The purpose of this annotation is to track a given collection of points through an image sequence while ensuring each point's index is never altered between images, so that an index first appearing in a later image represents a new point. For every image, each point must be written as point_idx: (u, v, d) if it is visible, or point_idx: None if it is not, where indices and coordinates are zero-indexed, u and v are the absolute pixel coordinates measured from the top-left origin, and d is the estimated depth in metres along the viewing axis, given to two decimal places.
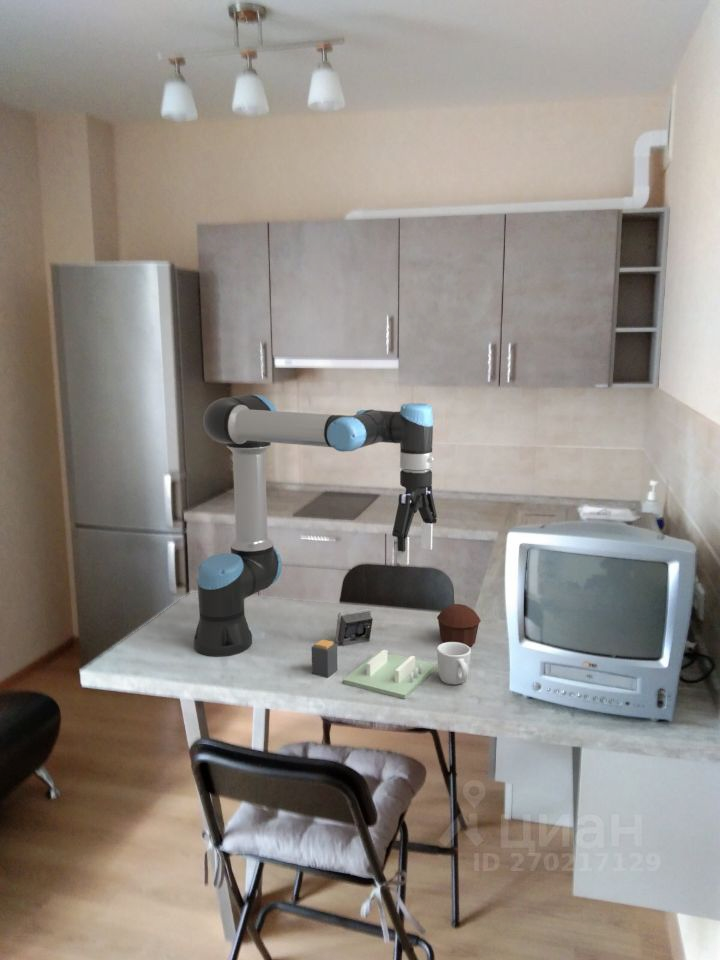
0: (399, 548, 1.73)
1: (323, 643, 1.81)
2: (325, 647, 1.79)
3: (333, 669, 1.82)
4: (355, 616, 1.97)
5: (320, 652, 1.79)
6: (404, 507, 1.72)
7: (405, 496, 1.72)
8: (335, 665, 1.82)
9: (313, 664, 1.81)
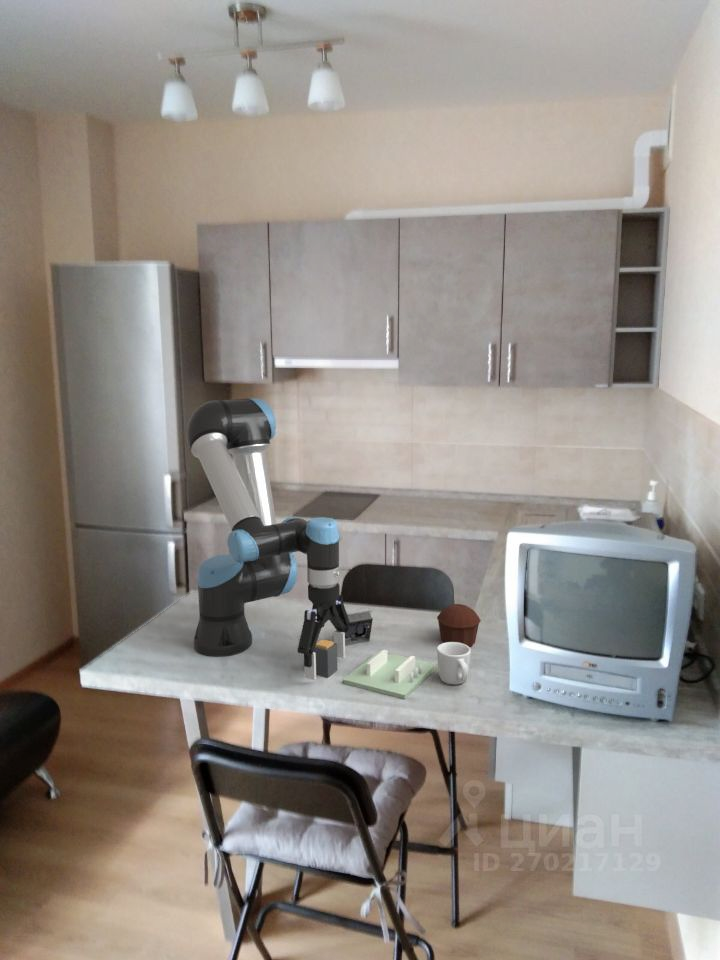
0: (305, 664, 1.74)
1: (323, 643, 1.81)
2: (325, 647, 1.79)
3: (333, 669, 1.82)
4: (355, 616, 1.97)
5: (320, 652, 1.79)
6: (309, 624, 1.73)
7: (310, 613, 1.73)
8: (335, 665, 1.82)
9: None
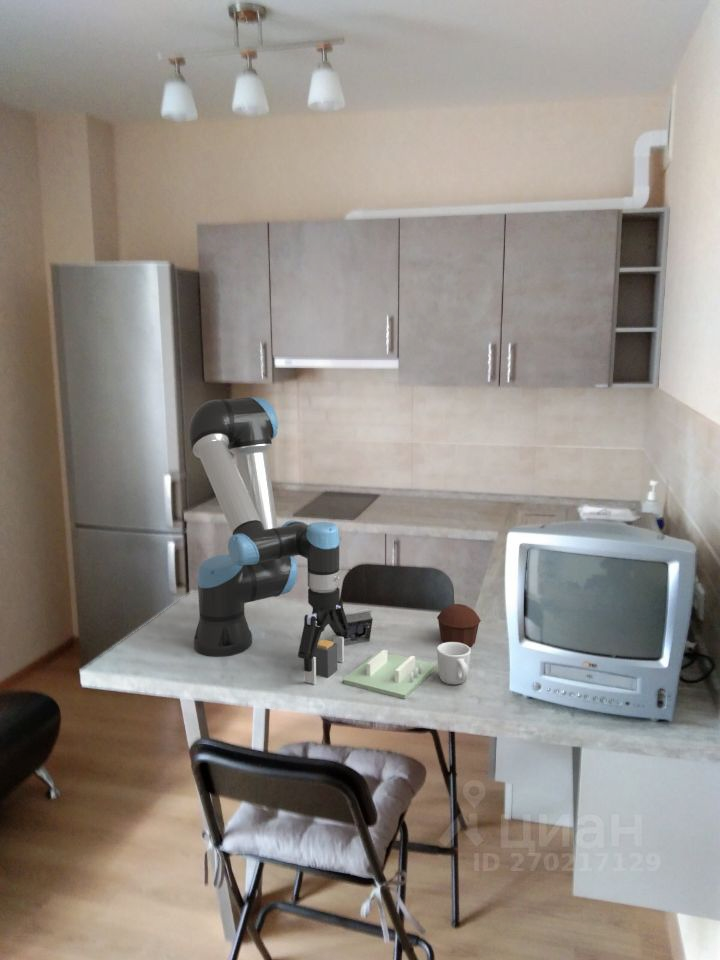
0: (305, 668, 1.75)
1: (323, 643, 1.81)
2: (325, 647, 1.79)
3: (333, 669, 1.82)
4: (355, 616, 1.97)
5: (320, 652, 1.79)
6: (309, 629, 1.73)
7: (310, 618, 1.73)
8: (335, 665, 1.82)
9: None
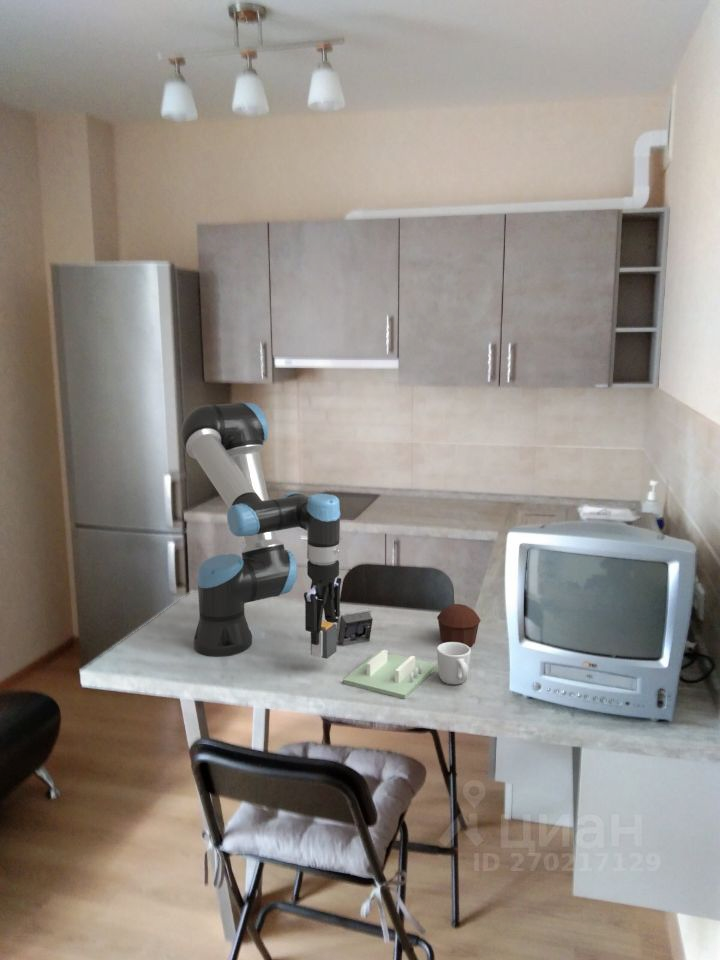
0: (313, 642, 1.78)
1: (322, 624, 1.80)
2: (324, 628, 1.78)
3: (332, 650, 1.81)
4: (355, 616, 1.97)
5: None
6: (311, 606, 1.74)
7: (309, 596, 1.73)
8: (334, 646, 1.82)
9: None
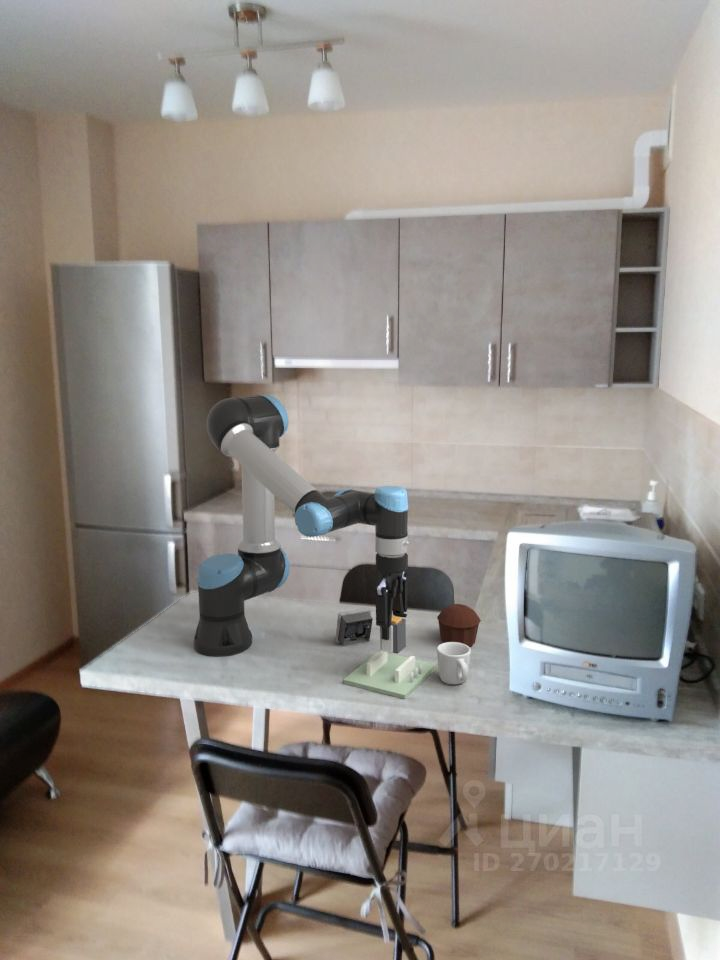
0: (383, 637, 1.75)
1: None
2: (394, 622, 1.75)
3: (402, 645, 1.78)
4: (355, 616, 1.97)
5: None
6: (382, 599, 1.71)
7: (380, 589, 1.70)
8: (404, 641, 1.79)
9: None
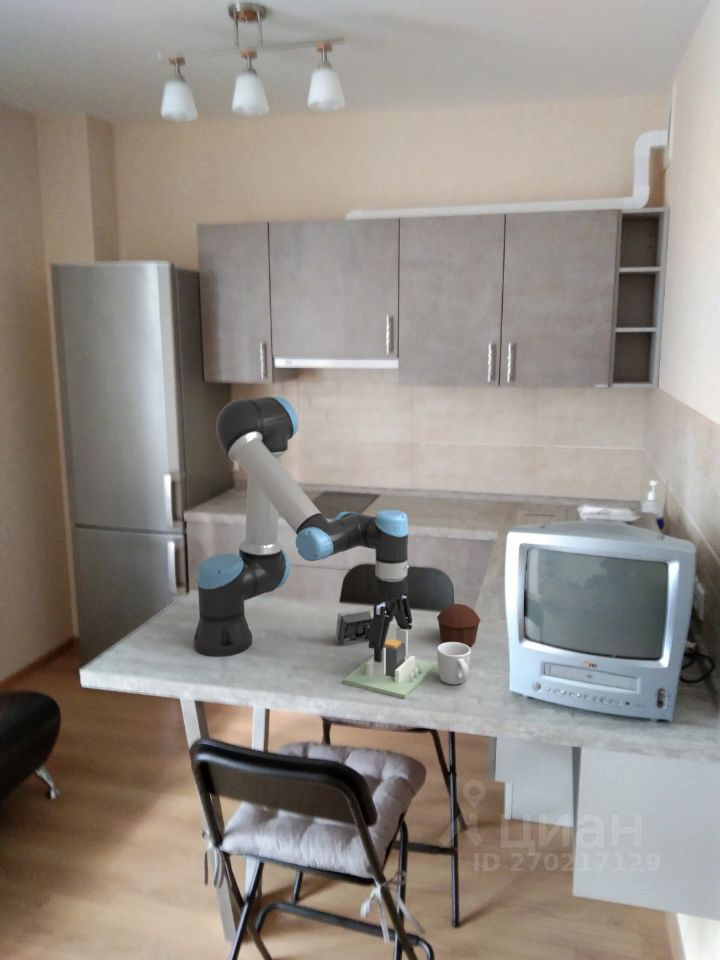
0: (375, 659, 1.73)
1: (391, 643, 1.78)
2: (394, 646, 1.77)
3: None
4: (355, 616, 1.97)
5: (389, 651, 1.77)
6: (379, 619, 1.71)
7: (380, 608, 1.71)
8: None
9: None
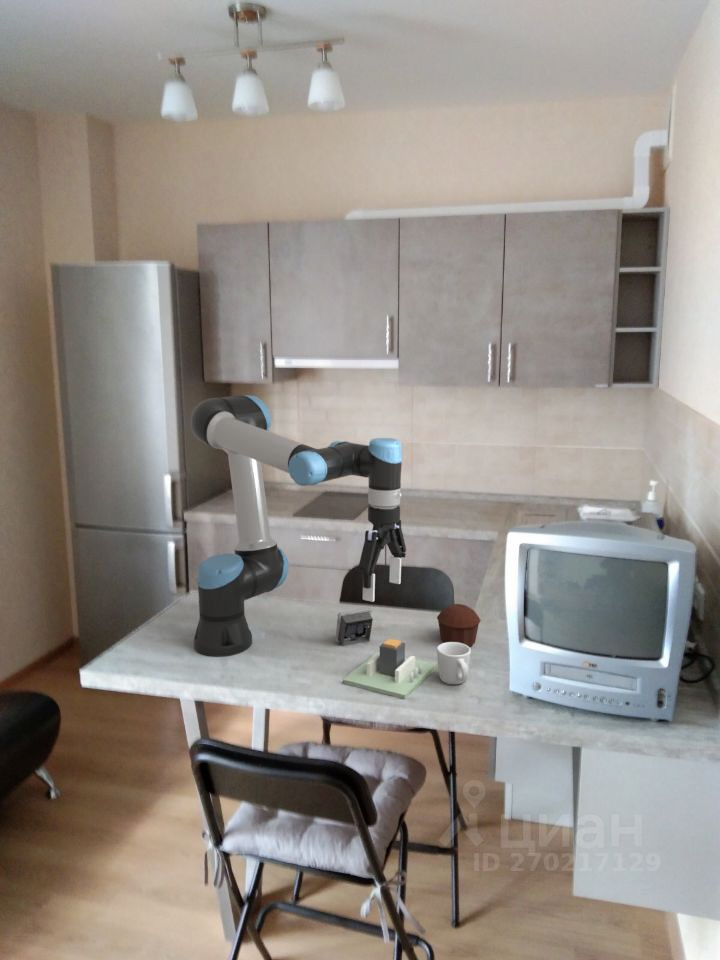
0: (364, 585, 1.71)
1: (391, 643, 1.78)
2: (394, 646, 1.77)
3: None
4: (355, 616, 1.97)
5: (389, 651, 1.77)
6: (370, 544, 1.70)
7: (371, 533, 1.70)
8: None
9: (381, 664, 1.79)
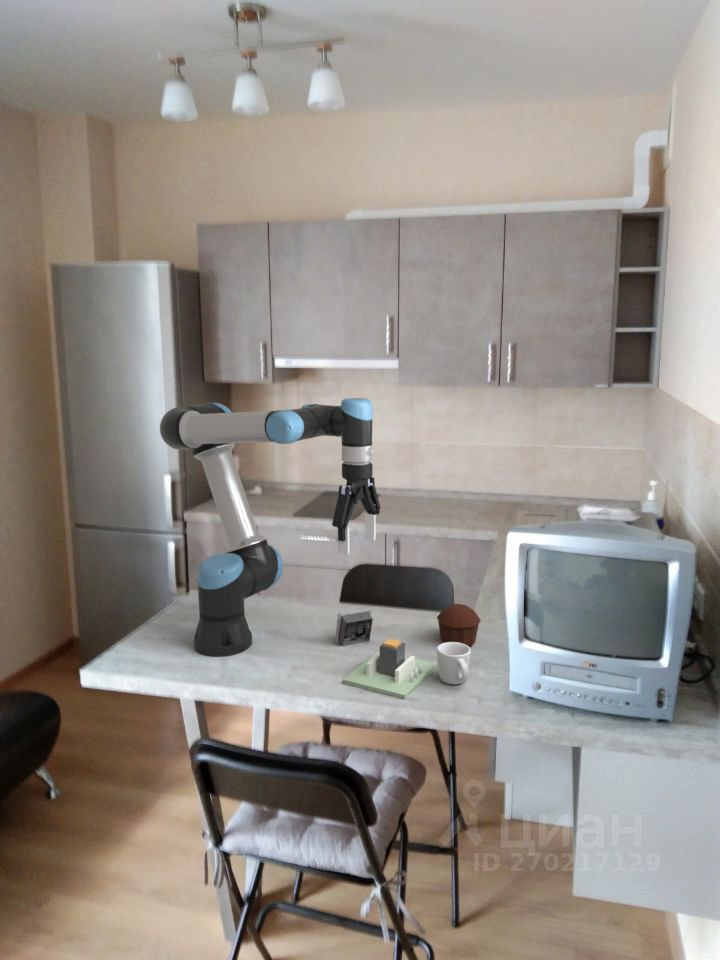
0: (339, 538, 1.79)
1: (391, 643, 1.78)
2: (394, 646, 1.77)
3: None
4: (355, 616, 1.97)
5: (389, 651, 1.77)
6: (344, 498, 1.78)
7: (345, 487, 1.78)
8: None
9: (381, 664, 1.79)
